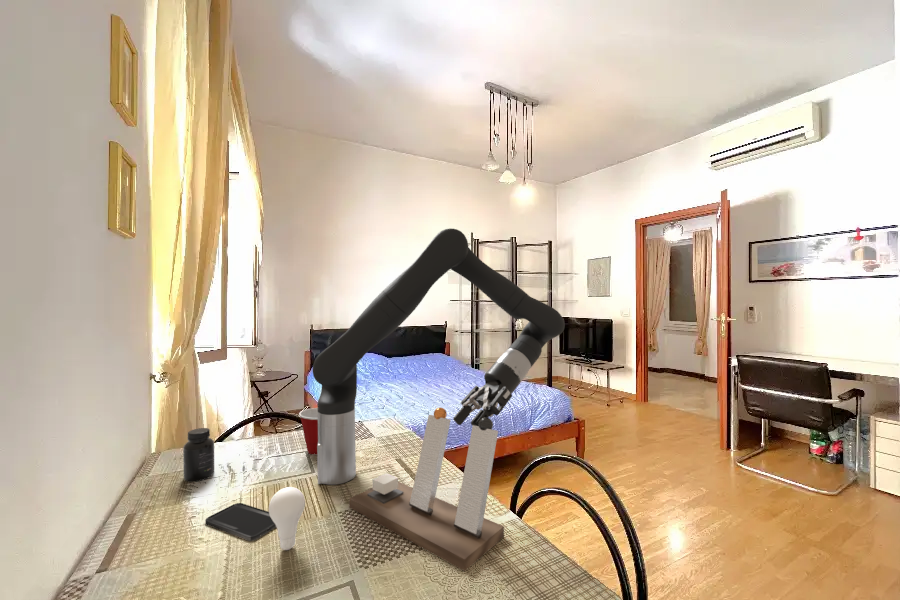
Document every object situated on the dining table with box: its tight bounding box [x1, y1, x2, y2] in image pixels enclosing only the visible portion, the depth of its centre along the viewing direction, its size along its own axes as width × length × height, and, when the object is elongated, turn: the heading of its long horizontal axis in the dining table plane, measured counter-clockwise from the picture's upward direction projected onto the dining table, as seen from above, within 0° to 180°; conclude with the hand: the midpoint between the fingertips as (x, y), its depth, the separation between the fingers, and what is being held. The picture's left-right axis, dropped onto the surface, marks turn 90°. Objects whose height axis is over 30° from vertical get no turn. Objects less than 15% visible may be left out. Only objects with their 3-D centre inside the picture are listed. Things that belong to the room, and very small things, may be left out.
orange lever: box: [409, 407, 451, 515], centre depth 82 cm, size 3×6×21 cm, turn 49°
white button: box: [371, 472, 399, 495], centre depth 86 cm, size 4×4×3 cm
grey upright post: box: [454, 417, 499, 538], centre depth 74 cm, size 3×6×21 cm, turn 50°
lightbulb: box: [268, 486, 306, 551], centre depth 71 cm, size 6×6×11 cm
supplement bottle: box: [182, 427, 215, 483], centre depth 101 cm, size 7×7×12 cm
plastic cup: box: [298, 407, 318, 455], centre depth 118 cm, size 11×11×12 cm
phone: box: [205, 502, 277, 542], centre depth 80 cm, size 8×1×15 cm
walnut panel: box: [348, 481, 505, 572], centre depth 79 cm, size 12×32×2 cm, turn 50°
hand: (464, 424), depth 85 cm, fingers open, 8 cm apart
